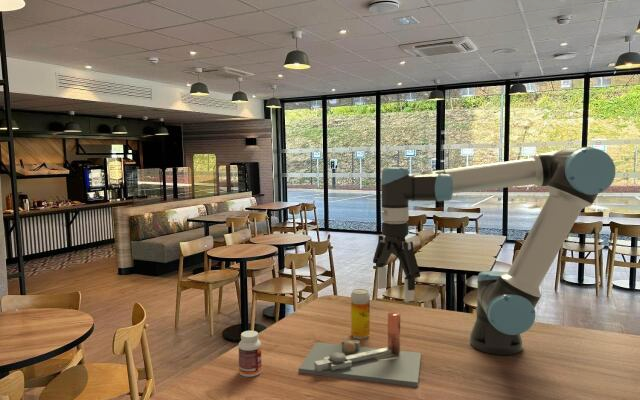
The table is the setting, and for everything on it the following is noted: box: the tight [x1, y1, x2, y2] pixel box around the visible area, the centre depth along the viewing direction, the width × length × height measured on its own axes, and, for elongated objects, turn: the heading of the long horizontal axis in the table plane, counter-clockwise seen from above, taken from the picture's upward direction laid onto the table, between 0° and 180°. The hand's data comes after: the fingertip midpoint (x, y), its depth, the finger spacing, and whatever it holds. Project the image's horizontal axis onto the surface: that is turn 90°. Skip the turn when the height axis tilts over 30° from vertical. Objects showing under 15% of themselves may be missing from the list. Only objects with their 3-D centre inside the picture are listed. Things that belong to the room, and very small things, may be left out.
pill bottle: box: [238, 330, 263, 378], centre depth 129 cm, size 6×6×11 cm
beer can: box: [350, 288, 371, 340], centre depth 153 cm, size 6×6×15 cm
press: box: [298, 338, 422, 388], centre depth 133 cm, size 32×18×5 cm, turn 75°
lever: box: [314, 311, 401, 371], centre depth 132 cm, size 27×6×12 cm, turn 115°
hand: (395, 294), depth 136 cm, fingers open, 13 cm apart
